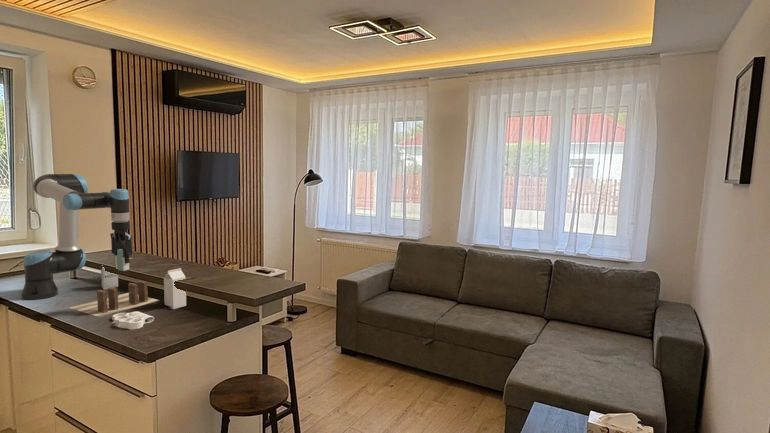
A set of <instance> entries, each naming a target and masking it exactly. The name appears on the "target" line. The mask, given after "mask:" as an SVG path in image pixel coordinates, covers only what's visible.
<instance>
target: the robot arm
mask: <svg viewBox="0 0 770 433" xmlns="http://www.w3.org/2000/svg"><path fill="white" fill-rule="evenodd" d="M32 186H33V187H32V188H33V191H34V192H35V194H36V195H38V196H40V197H43V198H44V199H45V198H46V199H52V200H55V201H57V202H59V214H58V216H59V221H58V223H59V224H58V226H59V227H58V245H56V246H55V251H52V250H51V249H44V250H36V251H32V252H29V253H27V254H26V255H25V256H24V257H23V267H24V268H23V269H24V279H25V280H24V281H25V282H24V286H23V289H22V291H21V299H23V300H28V301H29V300H32V301H33V300H41V299H47V298H51V297H55V296H57V295H58V294H59V289H58V286H57V284H56V282H55V280H54V275H57V274H61V273H68V272H74V271H78V270H81V269H83V268H84V267H85V264H86V260H87V254H86V251H85V250H84V249H83V248H82V246H81V245H80V244H79V232H80V229H79V228H80V226H79V225H80V224H79V223H80V210H92V209H110V214H111V215H110V217H111V223H110V224H111V230H112V231H114V232H112V233H109V235H110V244H111V254H113V256H114V258H115V261H114V262H115V264H116V269H118V259H117V250H119V249H122V250H123V255H124V256H122V259H123V270H130V257H131V256H132V255H133V244H132V243H133V241H132V239H133V235H132V234H129V232H128V230H129V229H131V226H130V218H131V217H130V197H129V190H128V189H126V188H112V189H110V191H101V192H89V185H88V181H87V180H86V177H84V175H81V174H78V173H77V174H76V173H48V174H43V175H41V176H39V177H37V178H36V179H35V180H34V182H33V184H32Z"/></svg>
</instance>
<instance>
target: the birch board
mask: <svg viewBox="0 0 770 433" xmlns="http://www.w3.org/2000/svg"><path fill="white" fill-rule="evenodd" d="M159 301H160V299H156V298H152V297H149V296H148V301H147V302H143V301H139V294H138V304H136V305H135V304H131V303H129V292H125V293H121V294H118V309H117V310H113V309H109V301H108V297H107V306H108V312H106V313H102V312H99V311H98V301H97V299H96V300H92V301H88V302H84V303H81V304H76V305H72V306H71V305H70V306H68V307H67V308H68V309H71V310H74V311H78V312H81V313H84V314H88V315H91V316H95V317H97V318H102V317H105V316H108V315H112V314H117V313H121V312H123V311H126V310H130V309H133V308H138V307H141V306H145V305H148V304H152V303H156V302H159Z"/></svg>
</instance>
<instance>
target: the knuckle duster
mask: <svg viewBox="0 0 770 433" xmlns="http://www.w3.org/2000/svg"><path fill="white" fill-rule="evenodd" d="M111 317H112V318H111V320H112V322H110V325H111V324H113V325H114V327H118V328H119V329H128V330H136V329H141V328H143V327H144V324H150V323H152V322H154V321H155V317H154V316H152V315H149V314H146V313H143V312H142V311H138V310H137V311H132V312H117V313H114V314H113V315H112V316H111Z"/></svg>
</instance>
